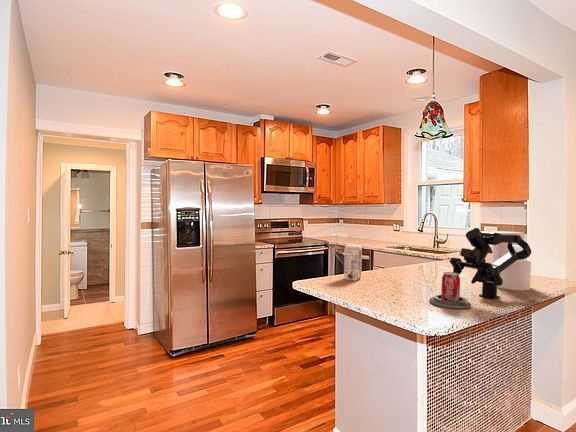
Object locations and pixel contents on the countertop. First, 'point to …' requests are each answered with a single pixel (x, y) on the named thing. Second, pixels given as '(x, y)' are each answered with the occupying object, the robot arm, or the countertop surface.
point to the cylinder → (513, 267)
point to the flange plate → (450, 303)
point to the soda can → (450, 286)
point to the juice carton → (352, 262)
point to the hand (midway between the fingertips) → (462, 280)
